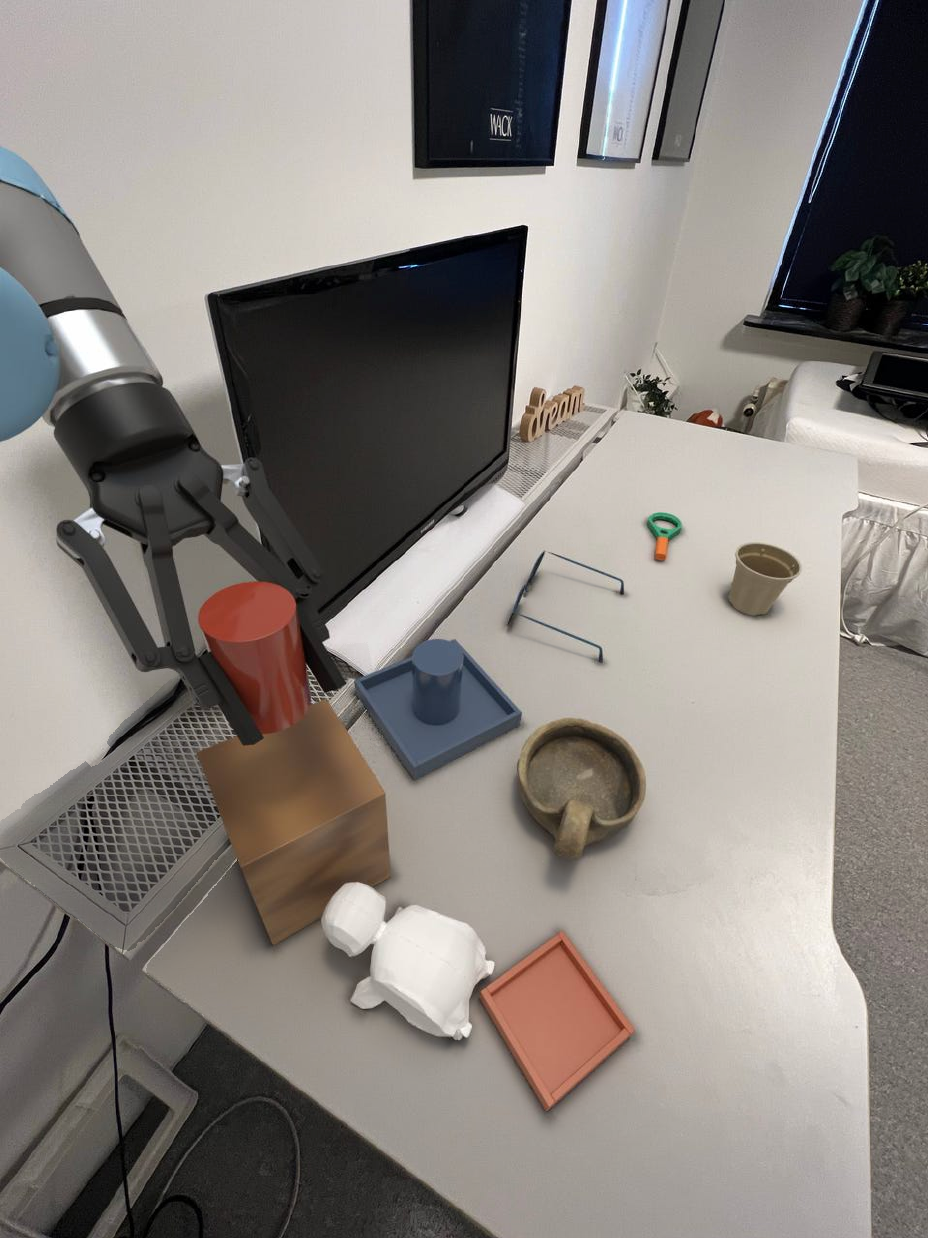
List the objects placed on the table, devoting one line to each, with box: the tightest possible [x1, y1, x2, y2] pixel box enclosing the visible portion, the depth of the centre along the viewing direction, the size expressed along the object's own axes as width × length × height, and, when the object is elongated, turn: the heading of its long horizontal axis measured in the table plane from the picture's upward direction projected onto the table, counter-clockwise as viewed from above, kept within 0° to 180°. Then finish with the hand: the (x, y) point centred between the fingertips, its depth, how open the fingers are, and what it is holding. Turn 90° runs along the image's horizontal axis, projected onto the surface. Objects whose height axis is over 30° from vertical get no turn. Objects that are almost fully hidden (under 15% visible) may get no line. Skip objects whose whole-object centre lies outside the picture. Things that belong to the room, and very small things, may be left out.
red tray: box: [478, 930, 636, 1113], centre depth 50 cm, size 9×9×2 cm
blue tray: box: [353, 638, 523, 781], centre depth 74 cm, size 15×15×2 cm
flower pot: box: [728, 541, 803, 617], centre depth 92 cm, size 9×9×9 cm
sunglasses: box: [506, 550, 625, 663], centre depth 90 cm, size 17×15×5 cm
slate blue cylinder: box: [411, 638, 464, 725], centre depth 72 cm, size 6×6×9 cm
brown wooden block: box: [195, 698, 392, 946], centre depth 55 cm, size 12×12×15 cm
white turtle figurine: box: [320, 882, 496, 1041], centre depth 50 cm, size 9×8×15 cm
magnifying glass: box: [647, 511, 683, 561], centre depth 107 cm, size 15×6×2 cm, turn 162°
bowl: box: [516, 717, 647, 861], centre depth 62 cm, size 14×18×10 cm
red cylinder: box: [197, 580, 312, 734], centre depth 41 cm, size 6×6×9 cm
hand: (296, 713), depth 41 cm, fingers closed on red cylinder, 6 cm apart
